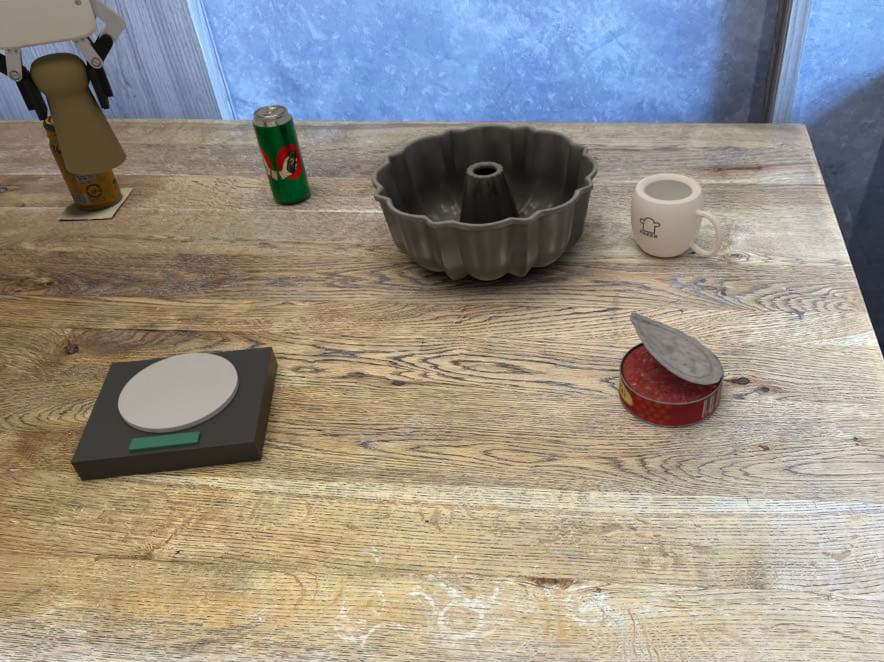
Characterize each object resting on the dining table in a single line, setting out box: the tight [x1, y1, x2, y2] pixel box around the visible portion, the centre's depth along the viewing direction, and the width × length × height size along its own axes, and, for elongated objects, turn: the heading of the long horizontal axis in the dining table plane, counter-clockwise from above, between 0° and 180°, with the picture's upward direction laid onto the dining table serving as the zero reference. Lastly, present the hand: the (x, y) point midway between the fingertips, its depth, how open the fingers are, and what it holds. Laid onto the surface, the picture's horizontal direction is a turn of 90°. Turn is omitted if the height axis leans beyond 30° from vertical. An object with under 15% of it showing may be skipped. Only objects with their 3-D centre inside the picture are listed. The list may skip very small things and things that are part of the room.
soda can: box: [252, 104, 311, 205], centre depth 108 cm, size 5×5×12 cm
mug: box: [630, 172, 723, 258], centre depth 96 cm, size 12×8×8 cm
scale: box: [70, 346, 278, 481], centre depth 78 cm, size 16×14×3 cm
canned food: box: [618, 312, 725, 428], centre depth 78 cm, size 11×10×10 cm
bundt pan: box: [371, 123, 599, 281], centre depth 98 cm, size 26×26×10 cm
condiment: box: [42, 114, 134, 221], centre depth 109 cm, size 7×8×12 cm
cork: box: [29, 51, 127, 175], centre depth 84 cm, size 6×6×11 cm
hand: (74, 108), depth 83 cm, fingers closed on cork, 5 cm apart
